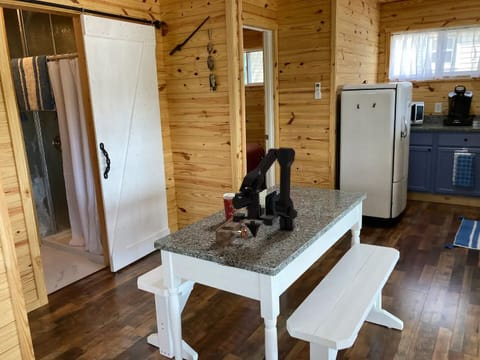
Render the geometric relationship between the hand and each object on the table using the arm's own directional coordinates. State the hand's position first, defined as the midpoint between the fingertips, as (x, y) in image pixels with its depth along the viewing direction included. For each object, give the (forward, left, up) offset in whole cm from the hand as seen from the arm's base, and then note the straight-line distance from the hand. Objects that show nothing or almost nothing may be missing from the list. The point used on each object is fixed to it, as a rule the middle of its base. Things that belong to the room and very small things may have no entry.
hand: (254, 237), depth 175 cm
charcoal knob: (+8, -10, -1) cm, 13 cm away
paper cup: (+24, -26, -3) cm, 35 cm away
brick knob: (+8, 0, -1) cm, 8 cm away
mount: (+14, -5, -3) cm, 15 cm away
